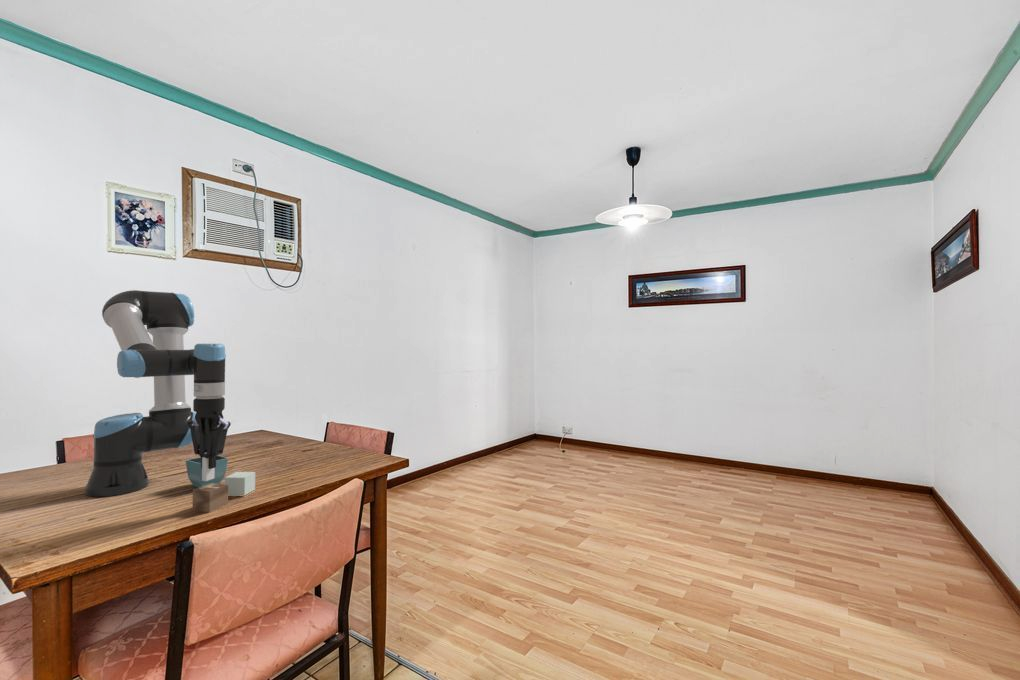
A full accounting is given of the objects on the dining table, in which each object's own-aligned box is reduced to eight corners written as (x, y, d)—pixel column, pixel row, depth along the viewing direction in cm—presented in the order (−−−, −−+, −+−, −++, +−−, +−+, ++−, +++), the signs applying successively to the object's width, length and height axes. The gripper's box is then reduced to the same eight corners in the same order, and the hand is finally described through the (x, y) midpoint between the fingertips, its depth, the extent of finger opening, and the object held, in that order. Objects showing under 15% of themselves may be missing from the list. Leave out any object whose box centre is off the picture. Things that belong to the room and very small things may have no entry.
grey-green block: (224, 497, 139) (224, 477, 139) (236, 490, 145) (236, 471, 145) (244, 497, 139) (244, 477, 139) (255, 490, 145) (255, 471, 145)
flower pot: (228, 484, 151) (229, 457, 151) (201, 492, 143) (201, 463, 143) (212, 480, 154) (212, 454, 154) (184, 488, 146) (184, 460, 146)
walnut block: (210, 491, 126) (209, 512, 126) (228, 484, 132) (228, 505, 132) (192, 489, 128) (192, 510, 128) (211, 482, 134) (211, 503, 134)
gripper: (178, 397, 128) (177, 481, 128) (216, 399, 125) (215, 485, 125) (202, 394, 135) (201, 474, 135) (238, 396, 132) (237, 477, 132)
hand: (208, 479), depth 130 cm, fingers closed
